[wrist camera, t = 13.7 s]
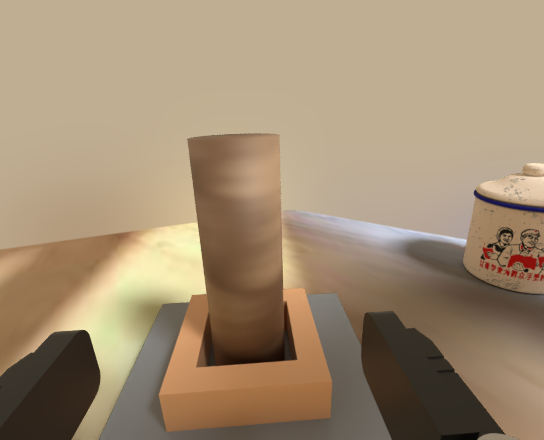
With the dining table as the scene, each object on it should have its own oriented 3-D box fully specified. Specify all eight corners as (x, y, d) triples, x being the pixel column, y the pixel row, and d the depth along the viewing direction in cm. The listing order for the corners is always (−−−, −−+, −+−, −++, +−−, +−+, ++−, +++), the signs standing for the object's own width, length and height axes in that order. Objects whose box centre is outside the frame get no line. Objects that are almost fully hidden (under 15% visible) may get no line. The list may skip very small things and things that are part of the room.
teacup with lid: (467, 287, 30) (492, 171, 26) (454, 249, 38) (471, 156, 34) (631, 312, 26) (691, 177, 22) (577, 264, 33) (614, 159, 29)
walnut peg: (281, 335, 21) (275, 132, 17) (288, 389, 17) (283, 138, 13) (219, 340, 21) (196, 135, 16) (212, 395, 17) (177, 142, 12)
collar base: (335, 312, 27) (337, 267, 25) (415, 501, 14) (429, 432, 12) (166, 323, 26) (158, 278, 25) (79, 534, 13) (49, 466, 11)
